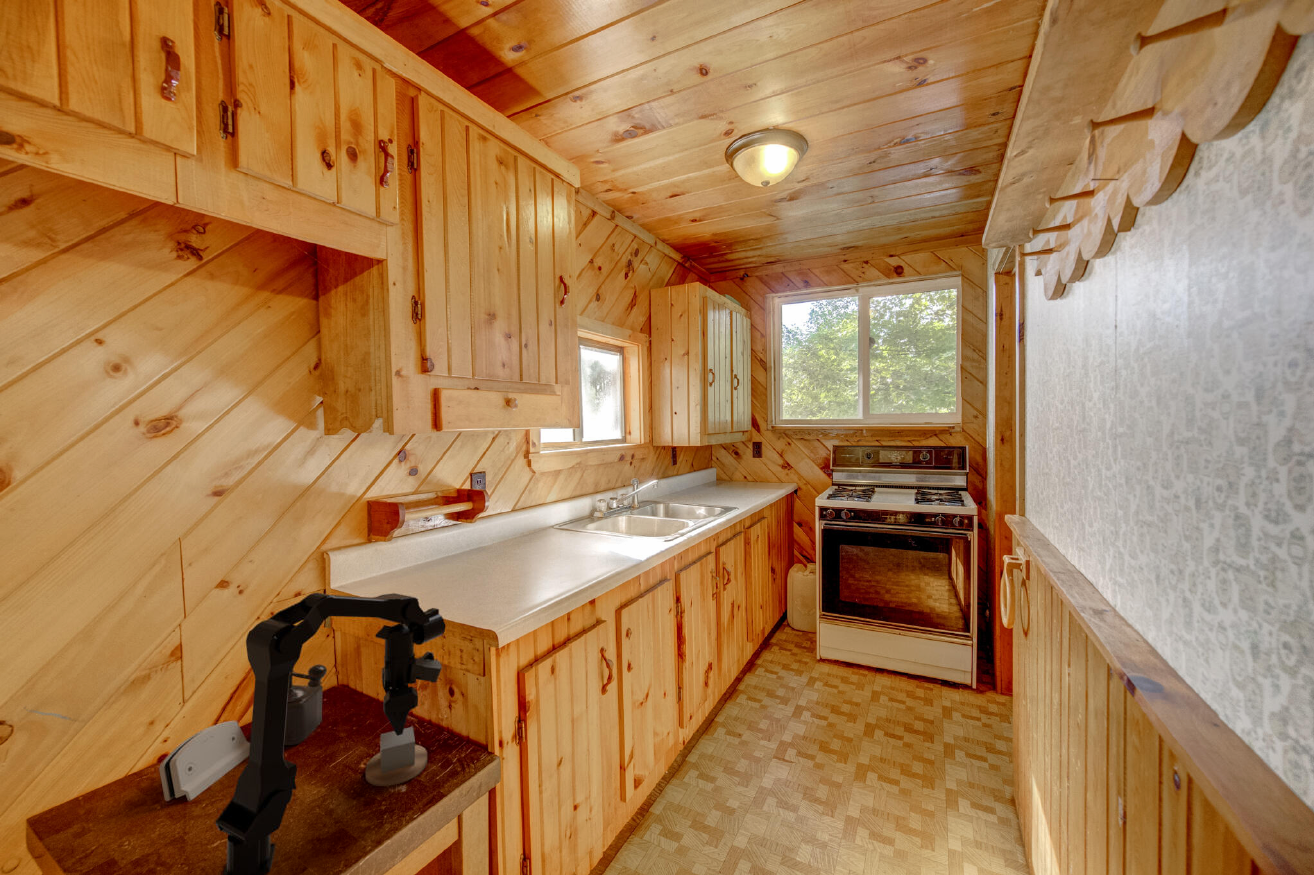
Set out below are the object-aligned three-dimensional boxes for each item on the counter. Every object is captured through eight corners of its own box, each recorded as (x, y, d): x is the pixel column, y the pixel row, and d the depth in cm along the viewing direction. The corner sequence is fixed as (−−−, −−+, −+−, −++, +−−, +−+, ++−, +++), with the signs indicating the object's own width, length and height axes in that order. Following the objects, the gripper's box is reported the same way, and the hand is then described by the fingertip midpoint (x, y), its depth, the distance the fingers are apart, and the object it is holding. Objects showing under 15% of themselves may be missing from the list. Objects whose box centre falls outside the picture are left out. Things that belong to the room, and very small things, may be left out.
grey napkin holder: (189, 802, 101) (172, 753, 101) (166, 809, 101) (150, 761, 101) (256, 750, 118) (242, 708, 118) (236, 756, 118) (222, 715, 118)
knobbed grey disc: (429, 775, 110) (430, 751, 110) (365, 793, 104) (365, 768, 104) (424, 745, 120) (424, 724, 120) (365, 760, 114) (365, 738, 114)
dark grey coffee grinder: (248, 749, 118) (249, 670, 118) (279, 722, 129) (280, 651, 129) (319, 746, 119) (321, 669, 119) (344, 720, 130) (345, 649, 130)
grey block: (414, 764, 111) (415, 741, 111) (381, 773, 108) (381, 749, 108) (412, 748, 117) (412, 726, 117) (380, 757, 113) (380, 734, 113)
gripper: (444, 661, 108) (443, 735, 108) (434, 631, 124) (433, 696, 124) (384, 673, 103) (383, 751, 103) (382, 640, 119) (381, 707, 119)
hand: (398, 724), depth 112 cm, fingers open, 9 cm apart
